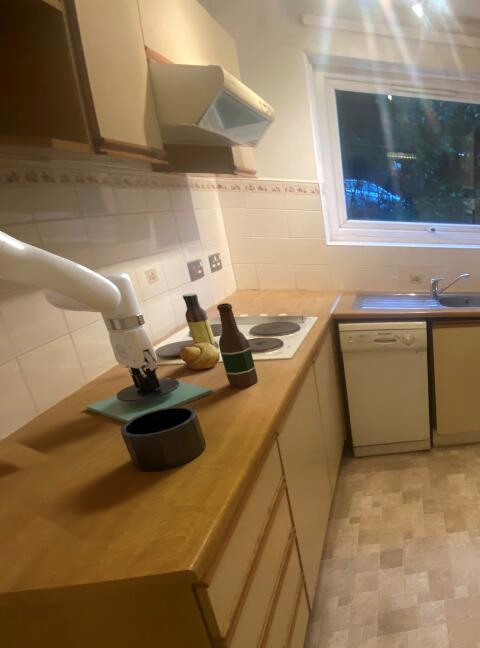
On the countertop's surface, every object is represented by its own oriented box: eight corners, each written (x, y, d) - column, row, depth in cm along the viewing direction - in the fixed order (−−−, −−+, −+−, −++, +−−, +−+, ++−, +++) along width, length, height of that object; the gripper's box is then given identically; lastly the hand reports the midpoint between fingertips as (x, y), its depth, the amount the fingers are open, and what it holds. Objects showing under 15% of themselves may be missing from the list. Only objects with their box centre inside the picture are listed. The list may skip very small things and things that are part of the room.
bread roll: (192, 359, 146) (186, 337, 143) (226, 356, 149) (220, 333, 146) (182, 373, 135) (175, 349, 132) (218, 369, 138) (212, 345, 135)
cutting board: (132, 425, 106) (131, 421, 105) (87, 409, 113) (85, 406, 113) (213, 392, 123) (212, 389, 122) (168, 380, 130) (167, 377, 130)
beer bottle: (238, 391, 124) (217, 309, 115) (223, 385, 127) (201, 305, 118) (264, 381, 130) (246, 303, 121) (248, 376, 134) (230, 299, 124)
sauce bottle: (208, 344, 160) (193, 291, 152) (220, 346, 158) (206, 292, 150) (191, 350, 154) (174, 295, 147) (203, 352, 152) (187, 296, 145)
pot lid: (136, 407, 109) (129, 387, 107) (106, 397, 114) (98, 378, 112) (191, 387, 120) (185, 368, 118) (161, 378, 125) (155, 360, 123)
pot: (157, 478, 87) (144, 441, 83) (120, 463, 91) (106, 428, 88) (218, 446, 97) (208, 413, 94) (183, 434, 102) (172, 402, 99)
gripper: (88, 322, 109) (113, 387, 116) (127, 330, 103) (151, 399, 110) (123, 314, 116) (145, 377, 123) (161, 322, 109) (182, 387, 117)
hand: (148, 387), depth 116 cm, fingers closed on pot lid, 3 cm apart
